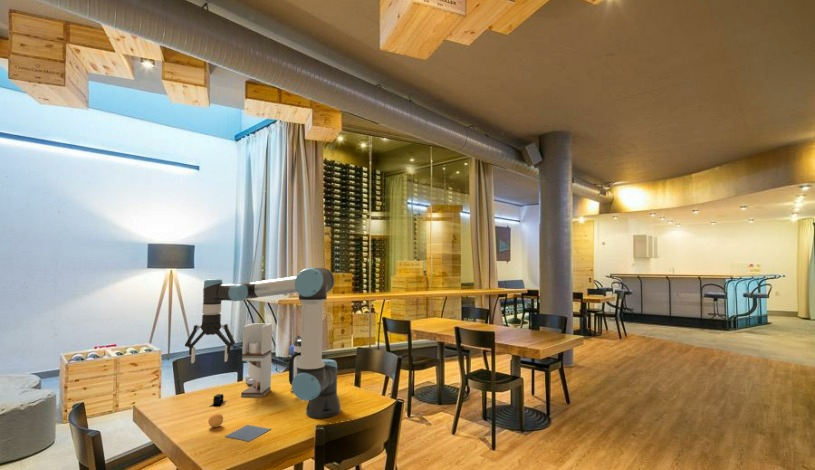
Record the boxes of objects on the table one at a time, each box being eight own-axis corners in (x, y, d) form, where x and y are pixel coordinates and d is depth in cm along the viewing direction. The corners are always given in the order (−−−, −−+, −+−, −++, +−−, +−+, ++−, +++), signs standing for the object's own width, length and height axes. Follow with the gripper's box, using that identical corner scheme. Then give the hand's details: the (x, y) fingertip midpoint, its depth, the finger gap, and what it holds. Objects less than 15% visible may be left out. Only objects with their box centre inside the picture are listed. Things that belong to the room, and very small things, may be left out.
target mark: (271, 429, 161) (271, 429, 161) (249, 441, 150) (249, 441, 150) (247, 425, 165) (247, 424, 165) (224, 436, 154) (224, 436, 154)
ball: (226, 425, 165) (226, 411, 166) (215, 430, 160) (215, 416, 160) (215, 423, 167) (216, 410, 168) (204, 428, 162) (205, 414, 162)
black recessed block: (219, 409, 186) (219, 399, 186) (203, 409, 186) (204, 399, 186) (231, 400, 198) (231, 391, 198) (216, 400, 198) (217, 391, 199)
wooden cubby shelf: (250, 389, 213) (252, 323, 216) (270, 390, 213) (272, 323, 216) (241, 396, 202) (243, 326, 205) (261, 397, 202) (263, 326, 204)
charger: (240, 387, 219) (251, 379, 233) (257, 387, 218) (267, 380, 233) (240, 378, 219) (252, 371, 234) (257, 378, 219) (267, 371, 234)
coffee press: (288, 387, 217) (289, 331, 219) (318, 385, 222) (318, 330, 224) (288, 397, 200) (289, 336, 203) (321, 394, 205) (321, 335, 208)
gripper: (242, 312, 187) (240, 358, 185) (183, 313, 181) (181, 361, 179) (239, 313, 179) (237, 362, 178) (178, 315, 174) (175, 365, 172)
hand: (209, 361), depth 178 cm, fingers open, 13 cm apart
